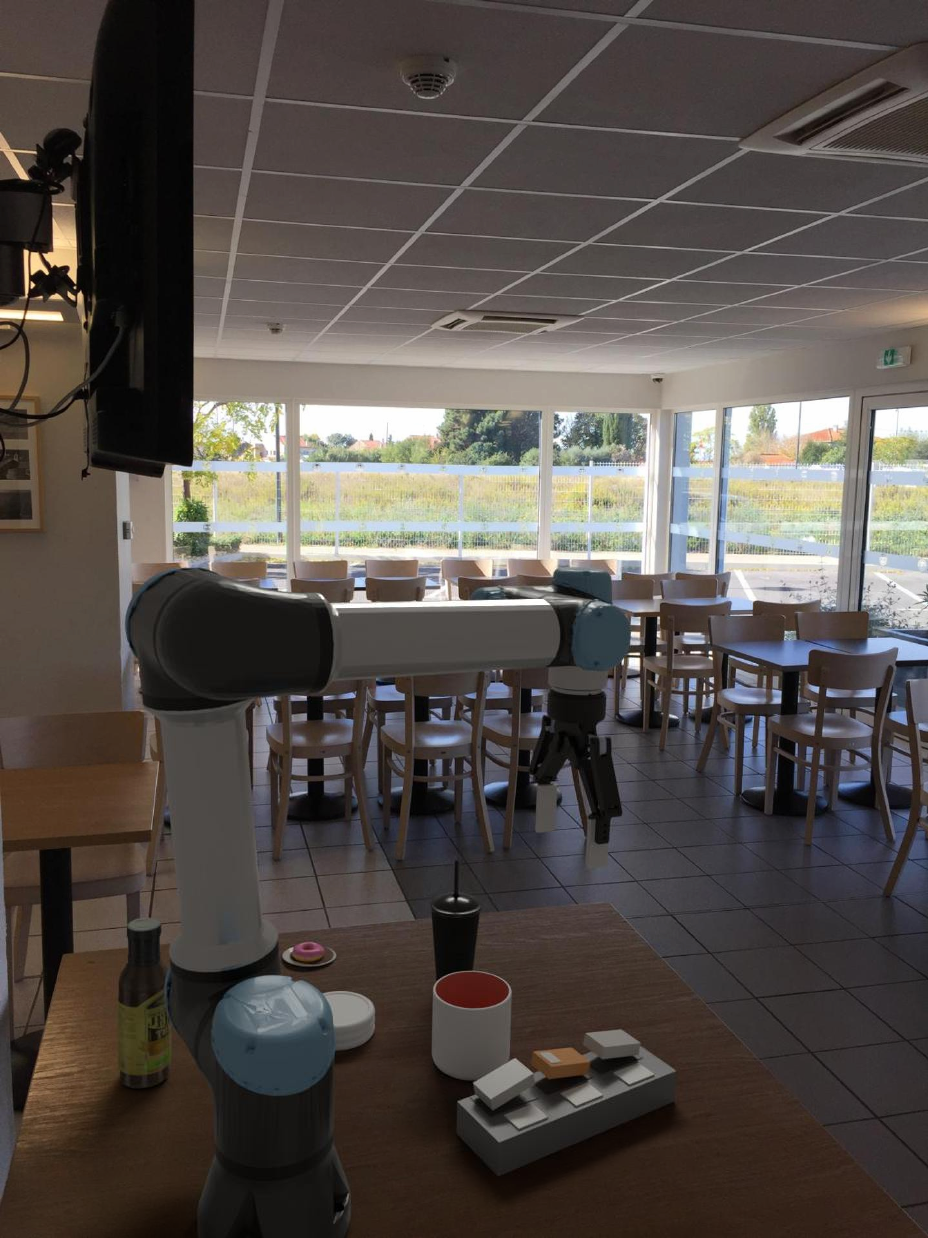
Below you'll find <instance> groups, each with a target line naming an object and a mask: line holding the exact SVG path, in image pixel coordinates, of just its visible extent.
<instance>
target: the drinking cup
mask: <svg viewBox="0 0 928 1238" xmlns="http://www.w3.org/2000/svg"><path fill="white" fill-rule="evenodd" d="M453 863H454V865H453V867H454V868H453V873H454V875H453V891H450V892H446V893H441V894H439V895H435V896H434V897H432V898H431V899H430V900H429V903H428V908H429V910H430V911H431V924H432V936H433V938H432V939H433V951H434V965H435V967H434V968H435V969H434V970H435V981H436V982H437V981H438V980H439V979H441V978H442V977H444V976H446V975H449V974H452V973H456V972H462V971H474V965H475V964H474V963H475V957H476V948H477V947H476V946H477V938H478V930H479V923H480V922H479V921H480V915H481V914H480V913H481V911H483V902H482V900H481V899H479V897H477V896H475V895H472V894H468V893H465V892H461V891H459V884H460V883H459V881H460V860H458V859H455V860H454V862H453ZM436 982H435V983H436Z"/></svg>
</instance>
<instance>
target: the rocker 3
mask: <svg viewBox="0 0 928 1238" xmlns="http://www.w3.org/2000/svg"><path fill="white" fill-rule="evenodd" d="M582 1043H583V1044H582V1045H583V1046H584V1047H585V1048H586V1049H588V1050H589V1051H590V1052H593V1053H595V1054H596V1055H597V1056H599V1057H600V1058H601V1059H608V1058H616V1057H625V1056H633V1055H638V1054H639V1049H640V1046H641V1045H642V1043H641V1042H640V1041H638V1040H637V1039H636V1038H634V1037H633V1036H631V1035H630V1034H629V1033H627V1032H626V1031H624V1030H623V1029H613V1030H612V1029H611V1030H602V1031H594V1032H593V1031H592V1032H585V1034H584V1039H583V1042H582Z"/></svg>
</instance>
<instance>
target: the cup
mask: <svg viewBox="0 0 928 1238" xmlns="http://www.w3.org/2000/svg"><path fill="white" fill-rule="evenodd" d="M512 992H513V991H512V988H511V986H510V985H509V983H508V982H507V981H505V980H504V979H503V978H501V977H500V976H498V975H496V974H492V973H489V972H485V971H479V970H478V971H477V970H473V971H462V972H456V973H452V974H449V975H446V976H444V977H442V978H441V979H439V980H438V981H437V982H435V983H434V985H433V988H432V1015H431V1016H432V1021H431V1026H432V1027H431V1029H432V1030H431V1056H432V1060H433V1062H434V1064H435V1065H436V1068H438V1069H439V1070H440V1071H441V1072H442V1073H443V1074H446V1075H447V1076H449V1077H452V1078H454V1079H457V1080H461V1081H477V1080H479V1079H480V1078H482V1077H484V1076H486V1075H487V1074H489V1073H491V1072H492V1071H494V1070H496V1069H497V1068H499V1067H501V1066H502V1065H504V1064H506V1063H508V1062H509V1061H510V1053H511V1051H510V1050H511V1019H512V995H513V993H512Z"/></svg>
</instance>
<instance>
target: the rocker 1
mask: <svg viewBox="0 0 928 1238" xmlns="http://www.w3.org/2000/svg"><path fill="white" fill-rule="evenodd" d="M533 1073H534V1072H533V1071H531V1070H530V1068H528V1067H526V1066H525V1065H524V1064H523V1063H522V1062H521V1061H519V1060H518V1059H517V1058H513V1059H510V1060H508V1062H507V1063H506V1064H504V1065H502V1066H501V1067H499V1068H497V1069H496V1070H494V1071H492V1072H491V1073H489V1074H487V1075H486V1076H484V1077H482V1078H480V1079H479V1080H474V1081H473V1082H472V1084H473V1085H472V1086H473V1091H474V1095H477V1096H478V1097H479V1098H480V1099H481V1100H482V1101H483V1102H484V1103H485V1104H486V1105H487V1106H488V1107H489V1108H490V1109H491V1110H494V1109H496V1108H498V1107H499V1106H501V1105H503V1104H504V1103H506V1102H507V1101H509V1100H511V1099H512V1098H514V1097H516V1096H517V1095H519V1094H520V1093H522V1092H524V1091H525V1090H527V1089H529V1088H530V1087H532V1086H533V1085H535V1080H534V1074H533Z"/></svg>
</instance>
